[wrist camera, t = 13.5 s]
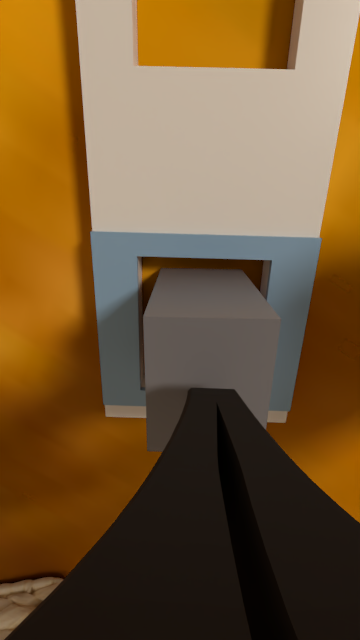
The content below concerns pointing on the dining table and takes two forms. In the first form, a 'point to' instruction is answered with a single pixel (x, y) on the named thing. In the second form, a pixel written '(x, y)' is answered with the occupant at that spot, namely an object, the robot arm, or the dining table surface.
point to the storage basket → (22, 601)
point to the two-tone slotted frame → (207, 175)
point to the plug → (205, 344)
